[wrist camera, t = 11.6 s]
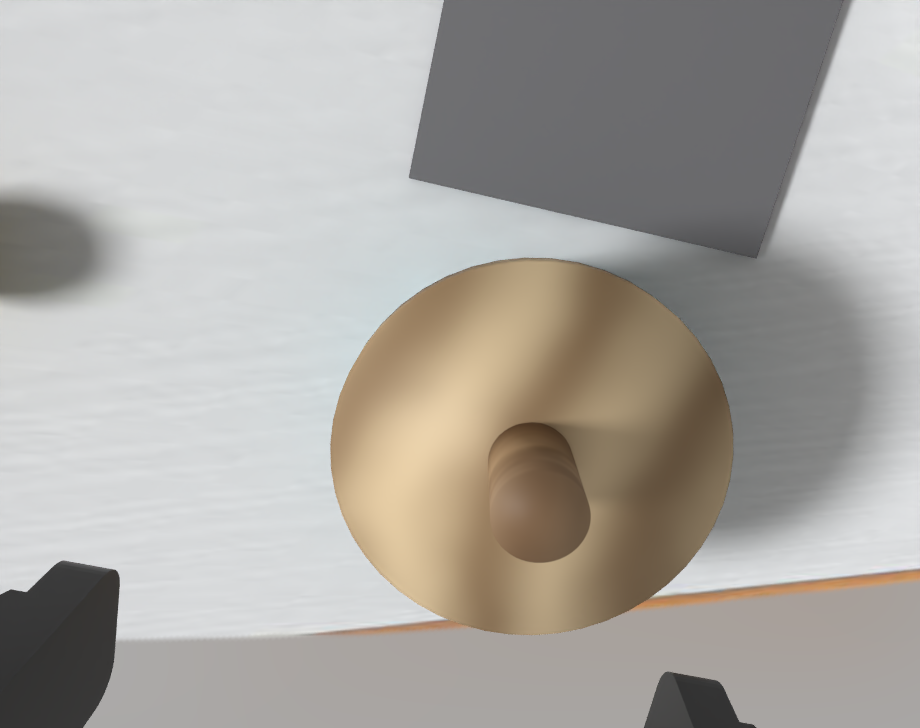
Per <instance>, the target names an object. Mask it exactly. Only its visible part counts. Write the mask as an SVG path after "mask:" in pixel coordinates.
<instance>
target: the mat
mask: <svg viewBox="0 0 920 728" xmlns="http://www.w3.org/2000/svg"><path fill="white" fill-rule="evenodd" d="M842 2H843V0H444V3H443V8H442V13H441V19H440V24H439V29H438V34H437V39H436V44H435V49H434V54H433V59H432V64H431V69H430V74H429V79H428V84H427V89H426V94H425V99H424V104H423V109H422V114H421V119H420V124H419V129H418V134H417V139H416V144H415V149H414V154H413V159H412V164H411V169H410V174H409V178H411V179H416V180H420V181H424V182H428V183H433V184H437V185H441V186H446V187H450V188H454V189H459V190H463V191H467V192H472V193H476V194H480V195H485V196H489V197H493V198H498V199H502V200H506V201H511V202H515V203H519V204H524V205H528V206H532V207H537V208H541V209H545V210H549V211H554V212H558V213H562V214H567V215H571V216H575V217H580V218H584V219H588V220H593V221H597V222H601V223H606V224H610V225H614V226H619V227H623V228H627V229H632V230H636V231H640V232H645V233H649V234H653V235H657V236H662V237H666V238H670V239H675V240H679V241H683V242H688V243H692V244H696V245H701V246H705V247H709V248H714V249H718V250H722V251H727V252H731V253H735V254H740V255H744V256H748V257H753V258H757V255H758V252H759V249H760V246H761V243H762V240H763V237H764V234H765V231H766V228H767V225H768V222H769V219H770V216H771V213H772V210H773V207H774V204H775V202H776V199H777V196H778V193H779V190H780V187H781V184H782V181H783V178H784V175H785V172H786V169H787V166H788V163H789V160H790V157H791V154H792V151H793V148H794V145H795V142H796V139H797V136H798V133H799V130H800V127H801V124H802V121H803V118H804V115H805V112H806V109H807V106H808V103H809V100H810V97H811V94H812V91H813V88H814V85H815V82H816V80H817V77H818V74H819V71H820V68H821V65H822V62H823V59H824V56H825V53H826V50H827V47H828V44H829V41H830V38H831V35H832V32H833V29H834V26H835V23H836V20H837V17H838V14H839V11H840V8H841V5H842Z"/></svg>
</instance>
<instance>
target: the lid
mask: <svg viewBox="0 0 920 728" xmlns="http://www.w3.org/2000/svg"><path fill="white" fill-rule="evenodd" d="M330 445H331V471H332V476H333V482H334V488H335V493H336V496H337V500H338V503H339V506H340V509H341V512H342V515H343V517H344V520H345V522H346V524H347V526H348V528H349V530H350V532H351V534H352V536H353V538H354V540H355V541H356V543H357V544H358V546H359V547H360V549H361V550H362V552H363V553H364V555H365V556H366V558H367V559H368V560H369V561H370V562H371V563H372V565H373V566H374V567H375V568H376V569H377V571H378V572H379V573H380V574H381V575H382V576H383V577H384V578H385V579H386V580H387V581H389V582H390V583H391V584H392V585H393V586H394V587H395V588H396V589H397V590H398V591H400V592H401V593H403V594H404V595H406V596H407V597H408V598H410V599H411V600H413V601H414V602H416V603H417V604H418V605H420V606H422V607H424V608H426V609H428V610H430V611H431V612H433V613H435V614H437V615H439V616H441V617H444V618H446V619H449V620H451V621H454V622H457V623H459V624H462V625H465V626H469V627H473V628H477V629H481V630H484V631H491V632H498V633H504V634H518V635H540V634H553V633H561V632H566V631H571V630H576V629H581V628H585V627H588V626H591V625H594V624H598V623H601V622H604V621H607V620H609V619H611V618H613V617H616V616H618V615H620V614H622V613H625V612H627V611H629V610H630V609H632V608H634V607H635V606H637V605H639V604H641V603H642V602H644V601H646V600H647V599H649V598H650V597H652V596H653V595H654V594H655V593H657V592H658V591H659V590H661V589H662V588H663V587H665V586H666V585H667V584H668V583H669V582H671V581H672V580H673V579H674V578H675V577H676V576H677V575H678V574H679V573H680V572H681V571H682V570H683V569H684V568H685V567H686V566H687V564H688V563H689V562H690V561H691V559H692V558H693V557H694V555H695V554H696V553H697V552H698V550H699V549H700V548H701V546H702V545H703V543H704V541H705V540H706V538H707V536H708V535H709V533H710V531H711V530H712V528H713V526H714V524H715V522H716V520H717V517H718V515H719V513H720V510H721V508H722V506H723V503H724V500H725V496H726V492H727V489H728V485H729V482H730V476H731V468H732V461H733V428H732V422H731V415H730V409H729V404H728V401H727V398H726V395H725V391H724V388H723V385H722V382H721V380H720V378H719V376H718V374H717V371H716V369H715V367H714V365H713V363H712V361H711V359H710V357H709V356H708V354H707V353H706V351H705V350H704V348H703V347H702V345H701V344H700V342H699V341H698V339H697V338H696V337H695V336H694V335H693V333H692V332H691V331H690V330H689V329H688V328H687V327H686V326H685V324H684V323H683V322H682V321H681V320H680V319H679V318H678V317H677V316H676V315H674V314H673V313H672V312H671V311H670V310H669V309H667V308H666V307H665V306H664V305H663V304H661V303H660V302H659V301H658V300H657V299H655V298H654V297H653V296H652V295H650V294H648V293H647V292H645V291H644V290H642V289H640V288H639V287H637V286H636V285H634V284H632V283H631V282H629V281H627V280H625V279H623V278H621V277H618V276H616V275H614V274H612V273H609V272H607V271H605V270H602V269H598V268H595V267H592V266H588V265H585V264H582V263H578V262H571V261H565V260H559V259H552V258H518V259H508V260H499V261H494V262H490V263H486V264H482V265H477V266H473V267H470V268H467V269H465V270H462V271H459V272H457V273H454V274H452V275H449V276H446V277H444V278H443V279H441V280H439V281H437V282H435V283H433V284H432V285H430V286H428V287H426V288H424V289H422V290H421V291H420V292H418V293H417V294H416V295H414V296H413V297H411V298H410V299H409V300H407V301H406V302H405V303H403V304H402V305H401V306H400V307H399V308H397V309H396V310H395V311H394V312H393V313H392V314H391V315H390V316H389V317H388V318H387V319H386V320H385V321H384V322H383V323H382V324H381V325H380V327H379V328H378V329H377V330H376V332H375V333H374V334H373V335H372V337H371V338H370V339H369V341H368V342H367V343H366V345H365V346H364V348H363V350H362V352H361V353H360V355H359V357H358V358H357V360H356V362H355V363H354V365H353V367H352V369H351V370H350V372H349V374H348V377H347V379H346V381H345V384H344V386H343V389H342V391H341V393H340V396H339V400H338V404H337V407H336V411H335V415H334V419H333V427H332V435H331V444H330Z"/></svg>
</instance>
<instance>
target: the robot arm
mask: <svg viewBox="0 0 920 728" xmlns="http://www.w3.org/2000/svg"><path fill="white" fill-rule="evenodd" d="M119 587H120V580H119V574H118V572H117V571H116V570H113V569H107V568H102V567H96V566H91V565H85V564H80V563H74V562H69V561H60V562H59V563H57V564H56V565H54V566H53V567H52V568H51V569H50V570H49V571H48V572H47V573H46V574H45V575H44V576H43V577H42V578H41V579H40V580H39V581H38V582H37V583H36V584H35V585H34V586H33V587H32V588H31V589H30V590H29V591H27V592H22V591H16V590H9V591H7V592H5V593H3V594H1V595H0V728H83V727H84V725H85V724H86V722H87V721H88V719H89V718H90V717H91V715H92V714H93V712H94V711H95V709H96V708H97V706H98V705H99V703H100V701H101V699H102V697H103V695H104V693H105V690H106V688H107V685H108V682H109V679H110V676H111V672H112V668H113V663H114V653H115V641H116V627H117V614H118V600H119ZM644 728H756V727H755V726H754V725H752V724H747V723H741V722H739V720H738V718H737V716H736V714H735V712H734V709H733V707H732V705H731V703H730V701H729V699H728V697H727V694H726V692H725V690H724V688H723V686H722V685H721V684H720V683H719V682H718V681H716V680H711V679H705V678H700V677H694V676H688V675H683V674H677V673H672V672H665V673H664V674H663V675H662V677H661V678H660V681H659V683H658V686H657V689H656V692H655V695H654V698H653V701H652V704H651V707H650V711H649V714H648V717H647V720H646V723H645V726H644Z"/></svg>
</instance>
